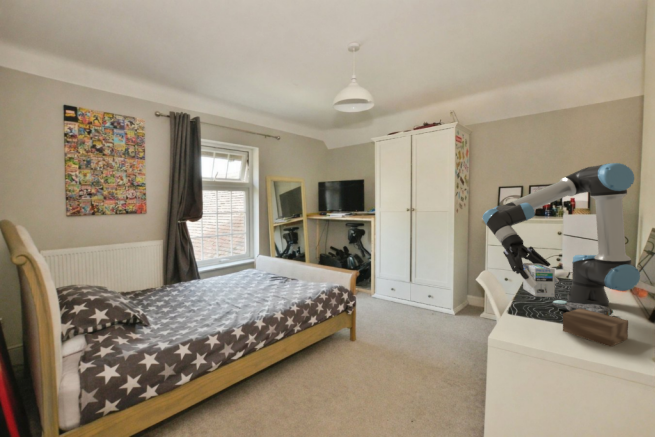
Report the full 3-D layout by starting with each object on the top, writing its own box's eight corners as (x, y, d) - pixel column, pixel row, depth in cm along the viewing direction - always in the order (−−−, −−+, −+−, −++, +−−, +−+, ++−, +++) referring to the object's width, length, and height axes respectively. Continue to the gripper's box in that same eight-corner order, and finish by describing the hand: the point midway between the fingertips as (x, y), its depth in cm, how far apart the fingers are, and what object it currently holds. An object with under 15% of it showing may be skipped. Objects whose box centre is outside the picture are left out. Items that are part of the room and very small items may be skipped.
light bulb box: (555, 297, 110) (555, 268, 110) (535, 296, 111) (535, 268, 111) (540, 289, 120) (540, 262, 120) (522, 288, 122) (522, 262, 121)
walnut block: (580, 325, 117) (580, 308, 117) (627, 340, 105) (628, 320, 104) (562, 331, 112) (563, 313, 112) (610, 347, 99) (611, 326, 99)
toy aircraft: (556, 304, 142) (556, 293, 142) (614, 315, 127) (615, 303, 127) (547, 313, 131) (548, 301, 131) (610, 326, 116) (610, 312, 116)
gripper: (524, 243, 133) (560, 286, 119) (482, 246, 127) (515, 292, 112) (535, 232, 128) (574, 276, 113) (493, 234, 121) (529, 282, 107)
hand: (545, 284), depth 113 cm, fingers closed on light bulb box, 10 cm apart
